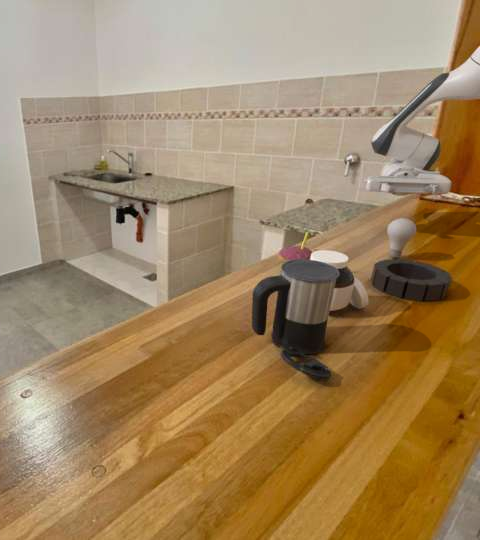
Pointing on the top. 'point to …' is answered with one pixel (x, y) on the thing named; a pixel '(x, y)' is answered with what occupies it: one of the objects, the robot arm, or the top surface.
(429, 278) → the tire
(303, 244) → the cupcake
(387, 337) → the top surface
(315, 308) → the milk frother
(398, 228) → the lightbulb
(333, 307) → the spread jar
